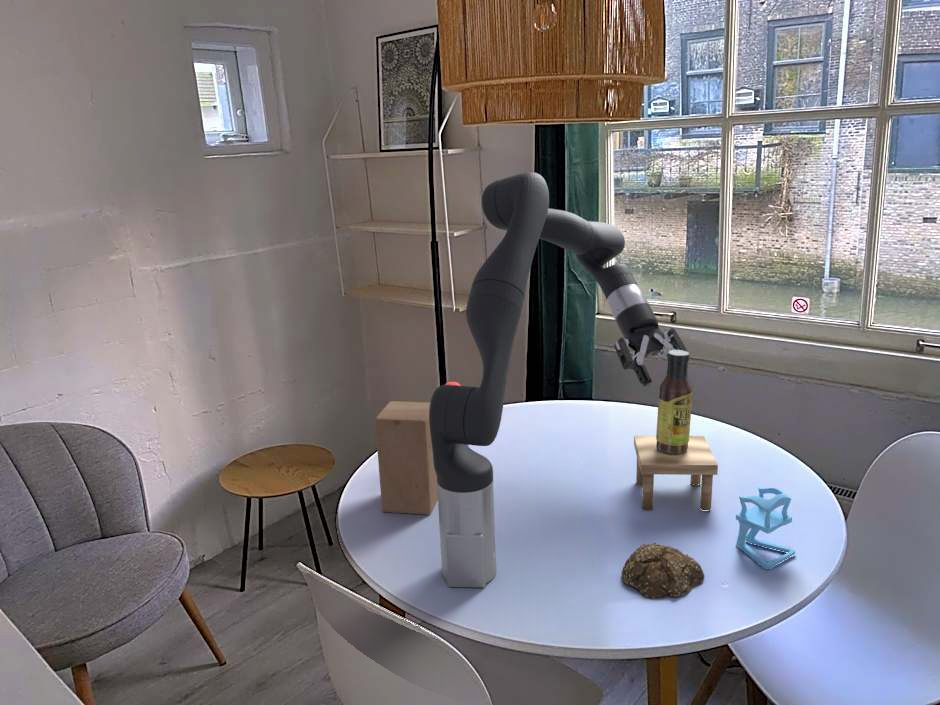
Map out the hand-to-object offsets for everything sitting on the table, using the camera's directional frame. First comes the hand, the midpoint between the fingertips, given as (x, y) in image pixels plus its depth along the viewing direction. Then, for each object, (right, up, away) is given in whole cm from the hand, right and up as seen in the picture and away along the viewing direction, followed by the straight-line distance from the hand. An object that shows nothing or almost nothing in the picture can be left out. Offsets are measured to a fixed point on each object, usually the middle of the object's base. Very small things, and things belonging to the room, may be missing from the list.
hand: (666, 380), depth 152 cm
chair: (+12, -29, -17) cm, 36 cm away
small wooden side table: (+2, -23, +4) cm, 24 cm away
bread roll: (-7, -32, -23) cm, 40 cm away
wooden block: (-50, -25, +6) cm, 56 cm away
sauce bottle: (+1, -14, +1) cm, 14 cm away
